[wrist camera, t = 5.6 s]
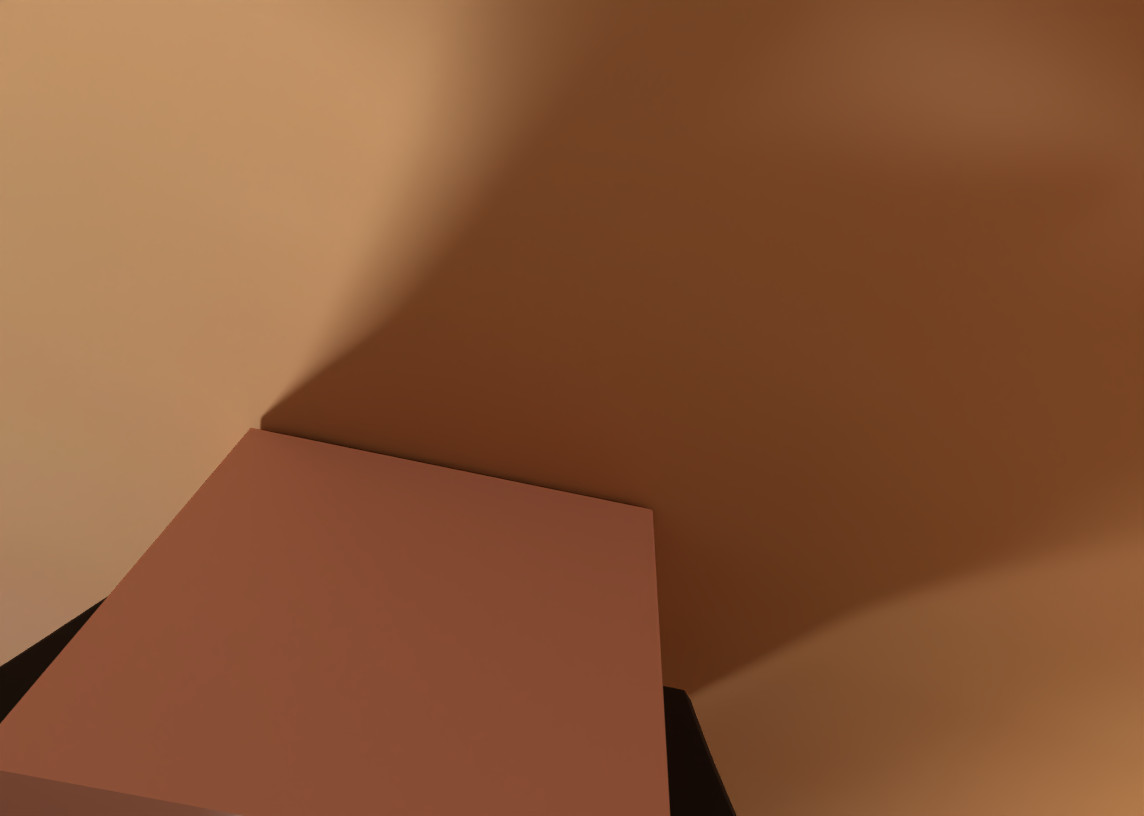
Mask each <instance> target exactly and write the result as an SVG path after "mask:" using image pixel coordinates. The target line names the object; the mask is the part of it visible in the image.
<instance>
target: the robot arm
mask: <svg viewBox="0 0 1144 816" xmlns="http://www.w3.org/2000/svg"><path fill="white" fill-rule="evenodd" d="M106 598H107V597H106ZM106 598H105V599H106ZM105 599H103V600H102V601H100V602H98V603H97V604H95V605H94V606H92V607H91V608H89V609H88V610H86V611H85V612H83V613H82V614H80V615H79V616H77V617H76V618H74V619H73V620H71V621H70V622H68V623H67V624H65V625H64V626H62V627H60V628H59V629H57V630H56V631H54V632H53V633H51V634H50V635H48V636H47V637H45V638H44V639H42V640H41V641H39V642H38V643H36V644H35V645H33V646H31V647H30V648H28V649H27V650H25V651H24V652H22V653H21V654H19V655H18V656H16V657H15V658H13V659H12V660H10V661H8V662H7V663H5V664H4V665H2V666H0V723H1V722H2V721H3V720H4V719H5V718H6V716H7V715H8V714H9V713H10V712H11V710H12V709H13V708H14V707H15V706H16V705H17V703H18V702H19V701H20V700H21V699H22V697H23V696H24V695H25V694H26V693H27V692H28V690H29V689H30V688H31V687H32V686H33V684H34V683H35V682H36V681H37V680H38V679H39V677H40V676H41V675H42V674H43V673H44V671H45V670H46V669H47V668H48V667H49V666H50V664H51V663H52V662H53V661H54V660H55V658H56V657H57V656H58V655H59V654H60V653H61V651H62V650H63V649H64V648H65V647H66V645H67V644H68V643H69V642H70V641H71V640H72V638H73V637H74V636H75V635H76V634H77V632H78V631H79V630H80V629H81V628H82V627H83V625H84V624H85V623H86V622H87V621H88V620H89V618H90V617H91V616H92V615H93V614H94V612H95V611H96V610H97V609H98V608H99V607H100V605H101V604H102V603H103V602H104V601H105ZM663 699H664V717H665V734H666V752H667V769H668V787H669V804H670V816H736V813H735V811H734V809H733V806H732V804H731V802H730V800H729V797H728V795H727V792H726V790H725V788H724V785H723V783H722V780H721V778H720V776H719V773H718V771H717V768H716V766H715V763H714V761H713V758H712V756H711V753H710V751H709V748H708V746H707V743H706V741H705V738H704V735H703V733H702V730H701V727H700V725H699V722H698V719H697V717H696V714H695V711H694V708H693V706H692V703H691V700H690V698H689V697H688V695H687V694H686V692H685V691H684V690H680V689H675V688H670V687H665V686H663Z"/></svg>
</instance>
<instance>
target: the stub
mask: <svg viewBox="0 0 1144 816" xmlns="http://www.w3.org/2000/svg"><path fill="white" fill-rule="evenodd" d="M0 816H670V804H669V787H668V769H667V752H666V734H665V717H664V699H663V681H662V664H661V646H660V629H659V611H658V594H657V576H656V559H655V541H654V524H653V510H651V509H647V508H642V507H637V506H632V505H627V504H622V503H617V502H612V501H607V500H602V499H598V498H593V497H588V496H583V495H578V494H573V493H568V492H563V491H558V490H553V489H549V488H544V487H539V486H534V485H529V484H524V483H519V482H514V481H509V480H504V479H500V478H495V477H490V476H485V475H480V474H475V473H470V472H465V471H460V470H455V469H451V468H446V467H441V466H436V465H431V464H426V463H421V462H416V461H411V460H406V459H401V458H397V457H392V456H387V455H382V454H377V453H372V452H367V451H362V450H357V449H352V448H348V447H343V446H338V445H333V444H328V443H323V442H318V441H313V440H308V439H303V438H299V437H294V436H289V435H284V434H279V433H274V432H269V431H264V430H259V429H254V428H250V429H249V431H248V432H247V433H246V434H245V435H244V436H243V438H242V439H241V440H240V441H239V442H238V444H237V445H236V446H235V447H234V448H233V449H232V451H231V452H230V453H229V454H228V455H227V457H226V458H225V459H224V460H223V461H222V462H221V464H220V465H219V466H218V467H217V468H216V470H215V471H214V472H213V473H212V474H211V475H210V477H209V478H208V479H207V480H206V481H205V483H204V484H203V485H202V486H201V487H200V488H199V490H198V491H197V492H196V493H195V494H194V496H193V497H192V498H191V499H190V500H189V501H188V503H187V504H186V505H185V506H184V507H183V509H182V510H181V511H180V512H179V513H178V514H177V516H176V517H175V518H174V519H173V520H172V522H171V523H170V524H169V525H168V526H167V527H166V529H165V530H164V531H163V532H162V533H161V534H160V536H159V537H158V538H157V539H156V540H155V542H154V543H153V544H152V545H151V546H150V547H149V549H148V550H147V551H146V552H145V553H144V555H143V556H142V557H141V558H140V559H139V560H138V562H137V563H136V564H135V565H134V566H133V568H132V569H131V570H130V571H129V572H128V573H127V575H126V576H125V577H124V578H123V579H122V581H121V582H120V583H119V584H118V585H117V586H116V588H115V589H114V590H113V591H112V592H111V594H110V595H109V596H108V597H107V598H106V599H105V601H104V602H103V603H102V604H101V605H100V607H99V608H98V609H97V610H96V611H95V612H94V614H93V615H92V616H91V617H90V618H89V620H88V621H87V622H86V623H85V624H84V625H83V627H82V628H81V629H80V630H79V631H78V632H77V634H76V635H75V636H74V637H73V638H72V640H71V641H70V642H69V643H68V644H67V645H66V647H65V648H64V649H63V650H62V651H61V653H60V654H59V655H58V656H57V657H56V658H55V660H54V661H53V662H52V663H51V664H50V666H49V667H48V668H47V669H46V670H45V671H44V673H43V674H42V675H41V676H40V677H39V679H38V680H37V681H36V682H35V683H34V684H33V686H32V687H31V688H30V689H29V690H28V692H27V693H26V694H25V695H24V696H23V697H22V699H21V700H20V701H19V702H18V703H17V705H16V706H15V707H14V708H13V709H12V710H11V712H10V713H9V714H8V715H7V716H6V718H5V719H4V720H3V721H2V722H1V723H0Z"/></svg>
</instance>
